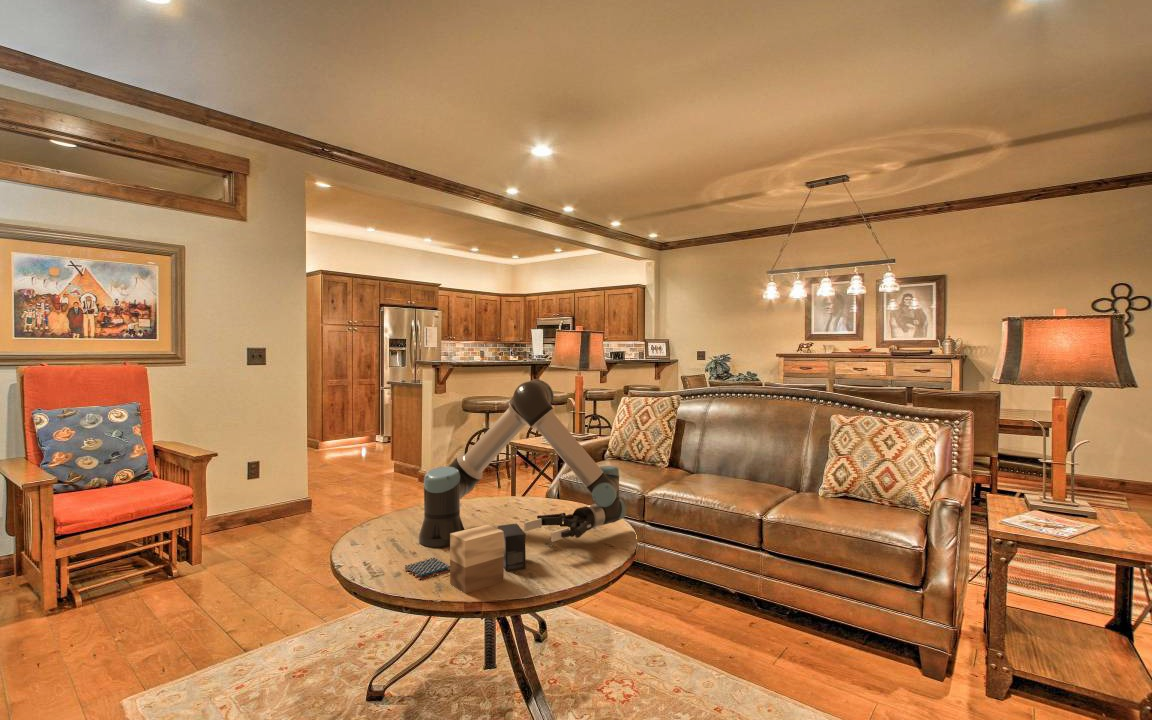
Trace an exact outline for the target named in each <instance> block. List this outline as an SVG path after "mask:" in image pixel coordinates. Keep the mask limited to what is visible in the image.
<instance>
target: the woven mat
mask: <svg viewBox="0 0 1152 720" xmlns="http://www.w3.org/2000/svg"><path fill="white" fill-rule="evenodd" d="M404 570H405V571H404V572H406V571H407V572H408V571H410V572H409V573H408V574H409V575H412V574H413V575H415V576H413V575H412V576H413V577H414V578H415V577H416V578H418V579H417V580H418V581H421V580H420V579H422V580H425V579H428V578H427V577H429V578H432V577H435V576H438V575H437V574H439V575H442V574H445V573H448V572H450V564H447V563H446V562H444V561H442V560H440V559H438V558H436V557H433V558H432V557H430V558H428V559H425V560H420V561H418V562H417V561H416V562H414V563H410V564H408V565H407V564H405V566H404ZM445 570H446V571H445ZM411 573H412V574H411ZM441 573H442V574H441ZM433 575H434V576H433ZM431 576H432V577H431Z"/></svg>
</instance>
